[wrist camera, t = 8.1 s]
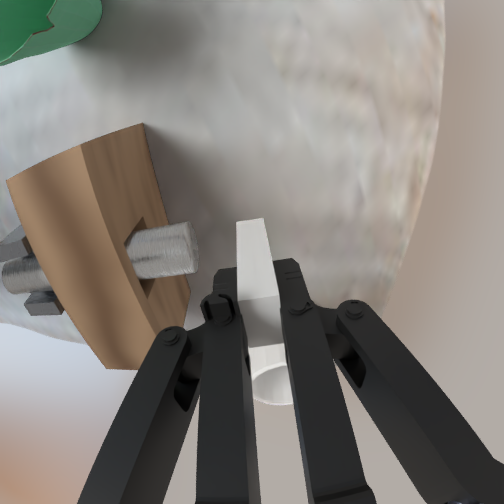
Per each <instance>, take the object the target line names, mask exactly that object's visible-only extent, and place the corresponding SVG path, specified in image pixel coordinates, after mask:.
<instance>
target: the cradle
mask: <svg viewBox="0 0 504 504" xmlns="http://www.w3.org/2000/svg"><path fill="white" fill-rule="evenodd" d="M33 253H34V252H33V250H32V247H31V245H30V243H29V241H28V239H27V236H26V234H25V232H24V229H23V227H22V224H21V225H20V226H19V227H17V228H16V229H15V230H14V231H13V232H12V233H10V234H9V235H8V236H7V237H6V238H5V239H4V240H3V241H1V242H0V262H4V261H7V260H11V259H15V258H19V257H23V256H27V255H29V254H33ZM24 306H25V307H26V309H27V310H28V312H29V313H30V315H31V316H38V315H62V313H63V311H64V310H65V309H64V307H63V306H62V304H61V302H60V301H59V299H58V297H57V296H56V294H55V292H54V290H52V291H43V292H34V293H32V294H31V295H30V296H29V298H28V299H27V301H26V302H25V303H24Z"/></svg>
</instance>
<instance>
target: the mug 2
mask: <svg viewBox="0 0 504 504" xmlns="http://www.w3.org/2000/svg"><path fill="white" fill-rule="evenodd" d="M248 352H249V356H250V363H251V377H252V391H253V399H255V400H257V401H259V402H262V403H266V404H271V405H289V404H293V398H292V392H291V386H290V380H289V374H288V368H287V364H286V358H285V347H284V343H282V344H275V345H269V346H261V347H254V348H249V346H248Z"/></svg>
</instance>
